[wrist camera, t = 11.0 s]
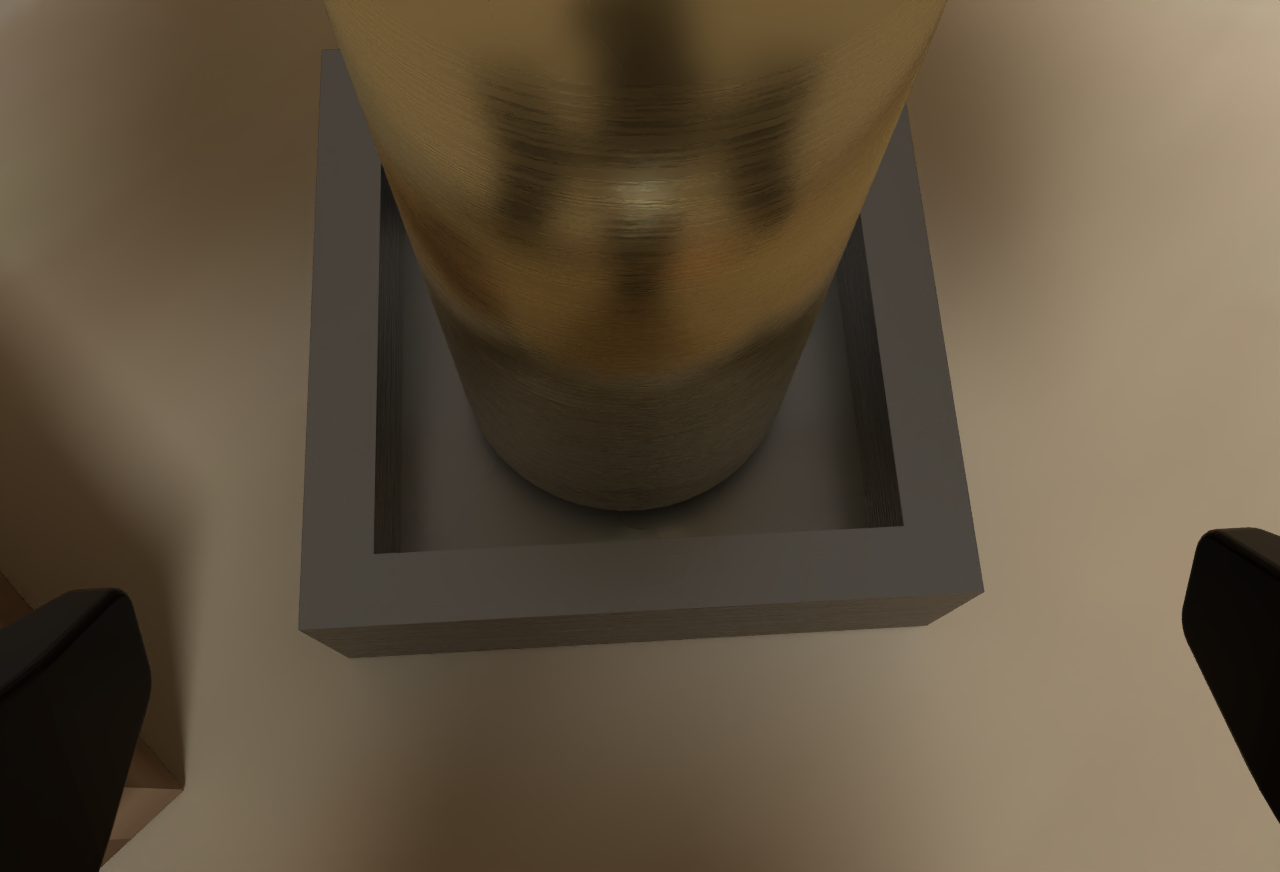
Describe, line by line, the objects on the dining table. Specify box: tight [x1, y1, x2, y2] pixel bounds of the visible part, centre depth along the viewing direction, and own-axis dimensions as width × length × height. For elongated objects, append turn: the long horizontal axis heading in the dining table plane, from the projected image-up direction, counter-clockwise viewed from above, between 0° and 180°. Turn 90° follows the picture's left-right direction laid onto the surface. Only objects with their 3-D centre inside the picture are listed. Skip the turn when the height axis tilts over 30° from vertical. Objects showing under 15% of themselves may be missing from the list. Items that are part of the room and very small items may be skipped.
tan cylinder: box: [322, 0, 947, 511], centre depth 13 cm, size 6×6×11 cm
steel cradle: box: [298, 49, 984, 658], centre depth 18 cm, size 10×10×3 cm
